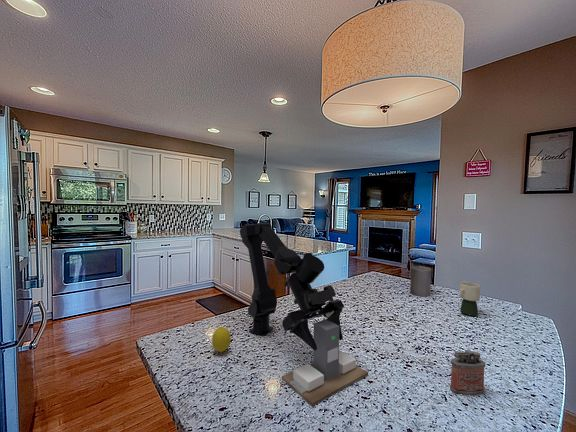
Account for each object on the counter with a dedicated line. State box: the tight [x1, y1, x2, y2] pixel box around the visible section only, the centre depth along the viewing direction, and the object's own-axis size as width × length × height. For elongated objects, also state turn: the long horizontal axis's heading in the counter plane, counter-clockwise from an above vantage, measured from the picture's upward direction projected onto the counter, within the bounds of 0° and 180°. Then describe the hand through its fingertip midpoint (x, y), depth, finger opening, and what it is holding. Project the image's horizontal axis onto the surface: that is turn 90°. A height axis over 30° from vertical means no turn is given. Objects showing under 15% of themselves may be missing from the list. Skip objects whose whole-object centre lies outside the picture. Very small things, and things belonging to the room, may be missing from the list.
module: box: [312, 318, 340, 381], centre depth 73 cm, size 5×4×13 cm
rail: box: [290, 363, 359, 394], centre depth 73 cm, size 5×20×1 cm, turn 126°
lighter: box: [449, 349, 486, 396], centre depth 68 cm, size 8×3×10 cm, turn 92°
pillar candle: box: [409, 265, 432, 298], centre depth 144 cm, size 10×10×15 cm
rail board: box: [281, 362, 369, 407], centre depth 73 cm, size 12×20×1 cm, turn 126°
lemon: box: [211, 326, 232, 353], centre depth 85 cm, size 6×6×8 cm
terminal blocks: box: [292, 349, 357, 392], centre depth 73 cm, size 6×17×2 cm, turn 126°
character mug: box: [458, 281, 481, 317], centre depth 117 cm, size 11×7×13 cm, turn 107°
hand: (329, 344), depth 72 cm, fingers open, 9 cm apart
